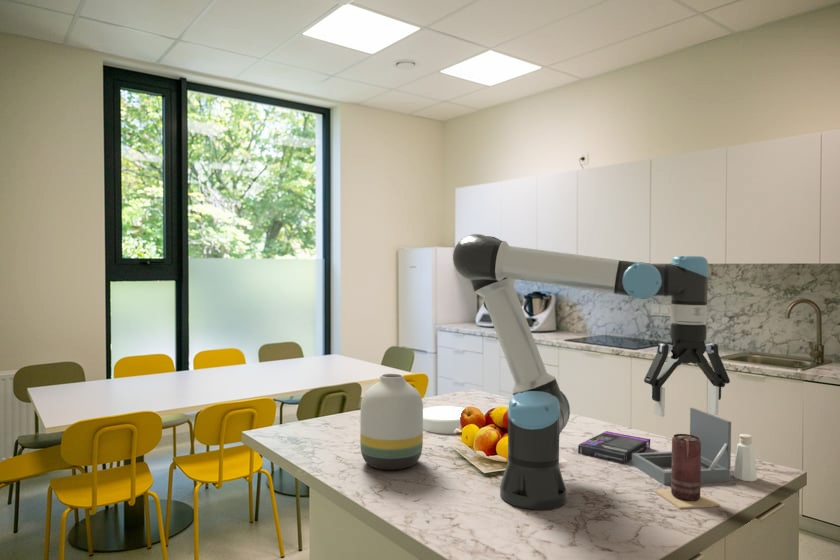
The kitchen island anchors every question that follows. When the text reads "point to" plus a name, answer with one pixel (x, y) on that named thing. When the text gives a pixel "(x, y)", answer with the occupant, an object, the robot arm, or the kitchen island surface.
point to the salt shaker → (745, 460)
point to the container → (441, 419)
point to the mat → (681, 504)
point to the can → (686, 467)
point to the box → (614, 446)
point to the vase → (391, 424)
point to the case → (713, 451)
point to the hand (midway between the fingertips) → (686, 414)
